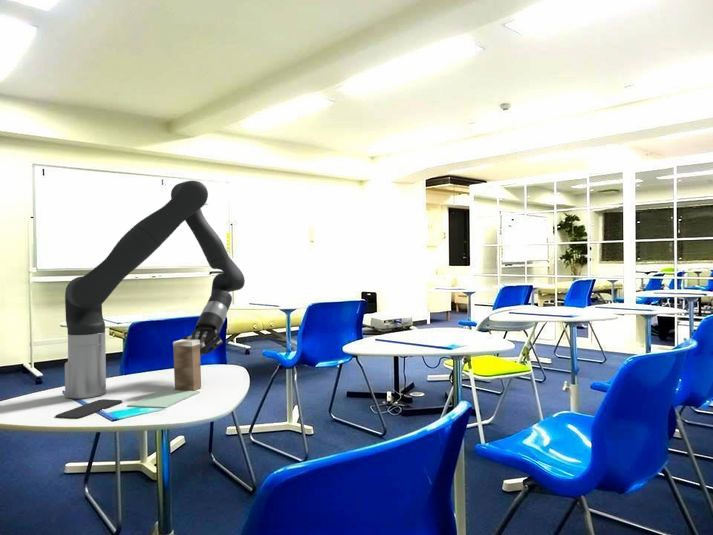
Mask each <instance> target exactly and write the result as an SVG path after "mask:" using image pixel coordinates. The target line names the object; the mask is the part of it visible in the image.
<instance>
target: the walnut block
mask: <svg viewBox="0 0 713 535" xmlns="http://www.w3.org/2000/svg"><path fill="white" fill-rule="evenodd" d="M172 346H173V347H172V348H173V350H172V351H173V370H174V371H173V374H174V378H173V379H174V390H179V391H197V390H199V389H201V388H202V372H201V371H202V370H201V358H200V340H193V339H192V340H183V339H179V340H175V341H173V342H172Z"/></svg>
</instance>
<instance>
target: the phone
mask: <svg viewBox="0 0 713 535" xmlns="http://www.w3.org/2000/svg"><path fill="white" fill-rule="evenodd" d="M122 403H123V400H122V399H110V398H109V399H105V398H104V399H97V400H94V401H91V402H89V403H86V404H83V405H81V406H76V407H75V408H72V409H68V410H66V411H63V412H60V413H57V414H56V415H55V416H54V417H55V418H57V419H70V420H73V419H74V420H79V419H83V418H85V417H88V416H92V415H94V414H97V413H99V412H101V411H100V410H102V409H105V410H106V409H109V408H112V407H114V406H117V405H120V404H122ZM102 411H103V410H102Z"/></svg>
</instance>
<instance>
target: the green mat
mask: <svg viewBox="0 0 713 535" xmlns="http://www.w3.org/2000/svg"><path fill="white" fill-rule="evenodd" d="M200 392H201V391H200V390H199V391H197V390H195V391H179V390H175V389H173V390H170V389H169V390H168V389H164V390H161V391H160V392H157V393H154V394H152V395H149V396H147V397H144V398H141V399H139V400H136V401H134V402H131V403H129V404H127V405H126V407H133V408H134V407H136V408H137V407H139V408H159V409H160V408H161V409H166V408H169V407H171V406H173V405H175V404H177V403H181V402H182V401H184V400H187V399H188V398H191V397H193V396H195V395H198V394H199V393H200Z"/></svg>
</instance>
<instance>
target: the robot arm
mask: <svg viewBox="0 0 713 535" xmlns="http://www.w3.org/2000/svg"><path fill="white" fill-rule="evenodd" d="M170 192H171V193H170V200H169V201H168V202H167V203H165V204H164V205H163V206H162V207H160V208H159V209H157V210H155V211H154V212H152V213H151V214H148V216H146V217H144V218H143V219H142V220H140V221H138V222H137V223H136V224H135V225H133V226H132V228H130V229H129V230H128V231H127V232H126V233H124V235H123V236H122V237H121V238H120V239H119V240H118V241H117V243H116V244H115V245H114V246H113V248H112V250H111V251H110V253H109V254H108V255H107V256H106V257H105V259H104V260H103V261H101V262H100V263H99V264H98V265H96V266H95V267H94V268H93V269H91V271H90V270H89V272H87V273H86V274H85V275H82V276H78V277H75V278H73V279H72V280H71V281H69V283H68V284H66V285H67V286H66V288H65V293H64V294H65V295H64V304H65V307H64V308H65V323H66V328H67V361H66V362H65V363H64V398H65V399H88V398H95V397H99V396H102V395H105V394H106V393H107V374H106V373H107V372H106V371H107V367H106V364H107V362H106V359H107V358H106V357H107V356H106V355H107V354H106V322H105V320H104V317H103V303H105V301H106V300H107V299H108V298H109V296H110V295H112V293H113V292H114V290H116V288H117V287H118V286H119V284H120V283H121V282H122V281H123V280H124V279H126V277H128V275H130V274H131V273H132V272H134V270H136V269H137V268H138V267H139V266H140V265H141V264H143V262H145V261H146V260H147V259H148V258H149V257H151V255H153V253H154V252H156V251H157V250H158V248H160V247H161V246H162V244H164V242H165V241H167V239H168V238H169V237H170V236H171V235H172V234H173V233H174V232H175V231H176V230H177V229H178V227H180V226H181V225H182V223H184V222H185V223H186V224H187V226H188V227H189V229H190V230H191V232H192V234H193V236H194V237H195V239H196V241H197V243H198V244H199V246H200V248H201V250H202V253H203V255H204V257H205V259H206V261H207V263H208V266H210V268H211V269H213V270H220V271H222V272H219V273H218V274H216V275H215V276H214V278H213V280H212V285H211V291H210V296H209V298H208V301H207V303H206V305H205V306H204V308H203V309H202V311H201V313H200V315H199V317H198V319H197V322H196V323H195V324H196V325H195V329H194V330H193V331H192V332H191V334H190V335H189V336H187V335H184V336H183V337H182V340H200V359H201V358H202V356H203V355H209V354H210V353H212V352H213V351H214V350H215V349H217V348H218V347H220V346H221V345H222V344H223V340H222V338H221V337H220V335H219V334H220V333H221V330H222V327H223V325H224V323H225V321H226V318H227V314H228V312H229V309H230V306H231V304H232V302H233V296H232V294H231V292H235V291H240V290H241V289H243V288H244V286H245V276H244V273H243V272H242V271H241V269H240V268H239V266H238V265H237V264H236V263H235V262H234V261H233V260H232V258H231V257H230V256H229V254H228V251H227V249H226V247H225V245H224V243H223V241H222V239H221V238H220V236H219V235H218V234H217V233H216V231H215V230H214V229H213V228H212V226H211V225H210V223H209V222H208V220H207V219H206V218H205V216H204V214H203V212H202V209H201V208H203V207H204V206H205V205H206V203H207V200H208V197H209V192H208V189H207V186H206V185H205V184H204V183H202V182H201V181H197V180H186V181H183V182H179V183H177V184H175V185H174V186H173V187H172V188H171V191H170Z"/></svg>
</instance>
